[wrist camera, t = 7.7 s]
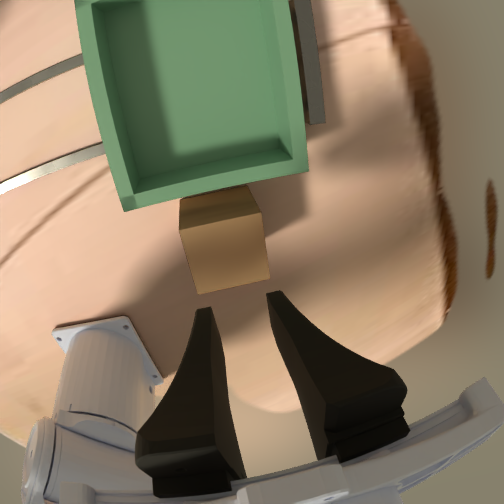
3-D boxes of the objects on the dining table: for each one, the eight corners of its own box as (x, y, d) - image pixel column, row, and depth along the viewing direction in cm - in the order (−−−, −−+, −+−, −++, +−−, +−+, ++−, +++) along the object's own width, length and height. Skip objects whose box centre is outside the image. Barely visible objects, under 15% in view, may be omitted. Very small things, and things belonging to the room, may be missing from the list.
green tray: (286, 152, 20) (308, 171, 16) (134, 186, 19) (124, 212, 16) (261, -23, 13) (279, -44, 10) (95, 10, 13) (74, -4, 9)
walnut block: (255, 242, 23) (270, 278, 19) (194, 255, 23) (197, 294, 19) (246, 184, 21) (261, 212, 17) (179, 199, 20) (179, 230, 17)
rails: (315, 118, 19) (325, 122, 18) (-5, 204, 17) (-14, 214, 16) (300, 3, 15) (309, -2, 13) (-34, 106, 13) (-47, 110, 11)
